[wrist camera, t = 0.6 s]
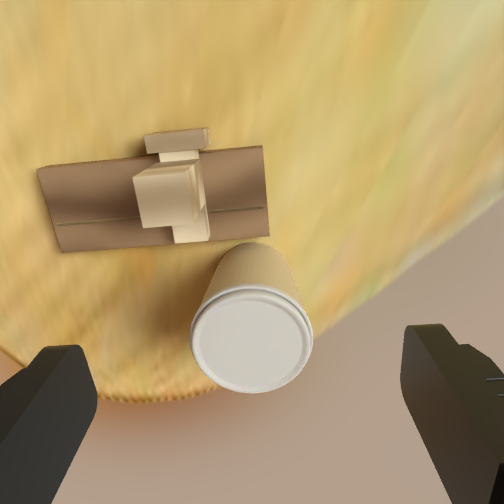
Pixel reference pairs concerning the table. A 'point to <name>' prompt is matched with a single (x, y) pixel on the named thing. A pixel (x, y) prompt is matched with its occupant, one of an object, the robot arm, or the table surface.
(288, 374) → the coffee cup
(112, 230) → the board
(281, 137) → the table surface
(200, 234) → the beige stepped block
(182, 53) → the table surface
